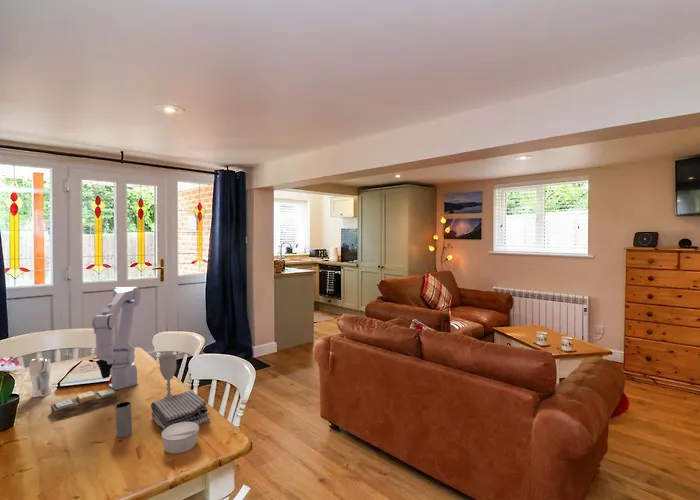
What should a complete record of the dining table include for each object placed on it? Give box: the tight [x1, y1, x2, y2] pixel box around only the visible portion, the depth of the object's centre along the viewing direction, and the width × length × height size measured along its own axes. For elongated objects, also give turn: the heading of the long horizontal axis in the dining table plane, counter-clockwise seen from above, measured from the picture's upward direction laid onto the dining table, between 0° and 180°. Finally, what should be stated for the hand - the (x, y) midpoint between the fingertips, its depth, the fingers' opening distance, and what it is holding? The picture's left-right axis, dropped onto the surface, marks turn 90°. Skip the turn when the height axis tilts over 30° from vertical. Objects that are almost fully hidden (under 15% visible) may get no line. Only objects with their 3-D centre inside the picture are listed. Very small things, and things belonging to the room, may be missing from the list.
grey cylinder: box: [114, 401, 133, 439], centre depth 131 cm, size 4×4×10 cm
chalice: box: [157, 353, 178, 399], centre depth 156 cm, size 7×7×18 cm
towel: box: [150, 390, 211, 430], centre depth 141 cm, size 15×18×8 cm
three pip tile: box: [54, 398, 74, 409], centre depth 147 cm, size 5×5×2 cm
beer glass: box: [28, 356, 52, 399], centre depth 162 cm, size 7×7×15 cm
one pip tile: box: [96, 387, 115, 397], centre depth 157 cm, size 5×5×2 cm
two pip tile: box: [76, 390, 95, 403], centre depth 152 cm, size 5×5×2 cm
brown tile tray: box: [50, 388, 120, 421], centre depth 152 cm, size 21×11×3 cm, turn 137°
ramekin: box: [161, 422, 200, 455], centre depth 124 cm, size 11×11×5 cm
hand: (105, 377), depth 157 cm, fingers closed
